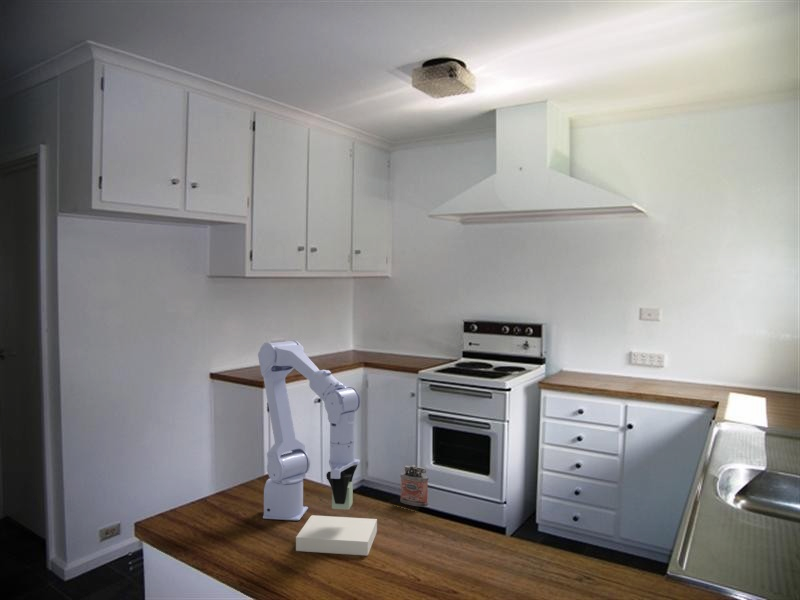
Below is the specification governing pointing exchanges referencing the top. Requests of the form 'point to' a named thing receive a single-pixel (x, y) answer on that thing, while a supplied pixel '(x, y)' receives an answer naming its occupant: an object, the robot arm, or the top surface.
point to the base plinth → (337, 535)
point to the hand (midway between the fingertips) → (342, 499)
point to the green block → (348, 499)
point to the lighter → (414, 486)
